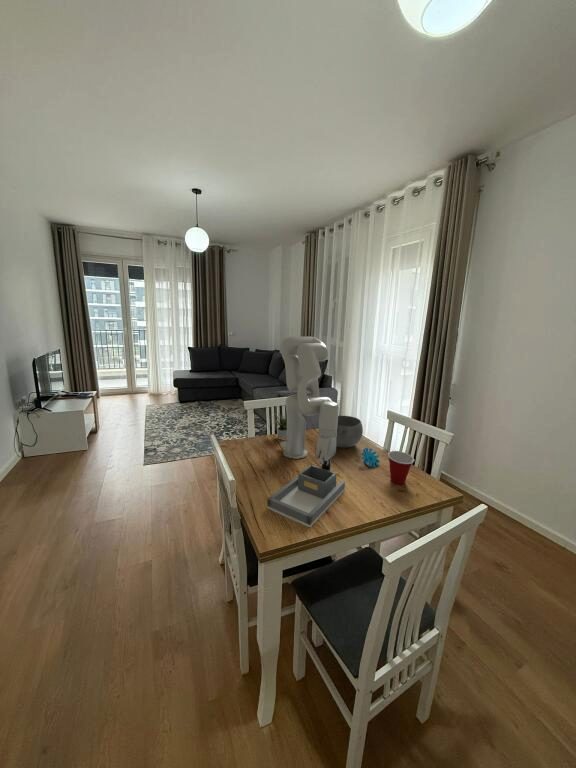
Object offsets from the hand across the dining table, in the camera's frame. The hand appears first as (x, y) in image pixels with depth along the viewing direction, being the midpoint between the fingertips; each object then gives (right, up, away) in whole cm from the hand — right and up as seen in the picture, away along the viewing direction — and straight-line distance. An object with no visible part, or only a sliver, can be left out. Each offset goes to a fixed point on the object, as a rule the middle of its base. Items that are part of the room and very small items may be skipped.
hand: (325, 472), depth 129 cm
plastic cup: (+32, -5, +4) cm, 33 cm away
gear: (+24, -2, +20) cm, 31 cm away
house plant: (-20, +6, +49) cm, 53 cm away
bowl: (+14, +3, +41) cm, 44 cm away
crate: (-4, -5, -5) cm, 8 cm away
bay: (-8, -7, -10) cm, 15 cm away
